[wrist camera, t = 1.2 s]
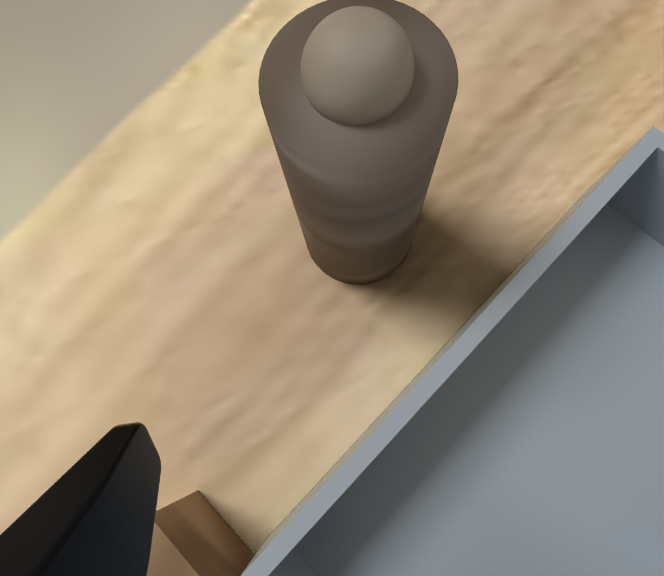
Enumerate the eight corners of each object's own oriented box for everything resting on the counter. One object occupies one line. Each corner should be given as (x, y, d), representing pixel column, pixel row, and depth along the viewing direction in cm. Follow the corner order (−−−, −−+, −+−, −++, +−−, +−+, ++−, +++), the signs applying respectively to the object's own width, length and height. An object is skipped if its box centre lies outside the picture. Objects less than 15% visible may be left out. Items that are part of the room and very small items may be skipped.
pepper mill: (433, 230, 23) (521, 19, 10) (360, 306, 22) (361, 175, 10) (356, 165, 24) (353, -98, 11) (284, 235, 23) (197, 36, 11)
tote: (878, 403, 20) (1048, 401, 15) (549, 853, 17) (626, 1034, 12) (590, 186, 23) (653, 126, 18) (268, 536, 20) (238, 577, 15)
